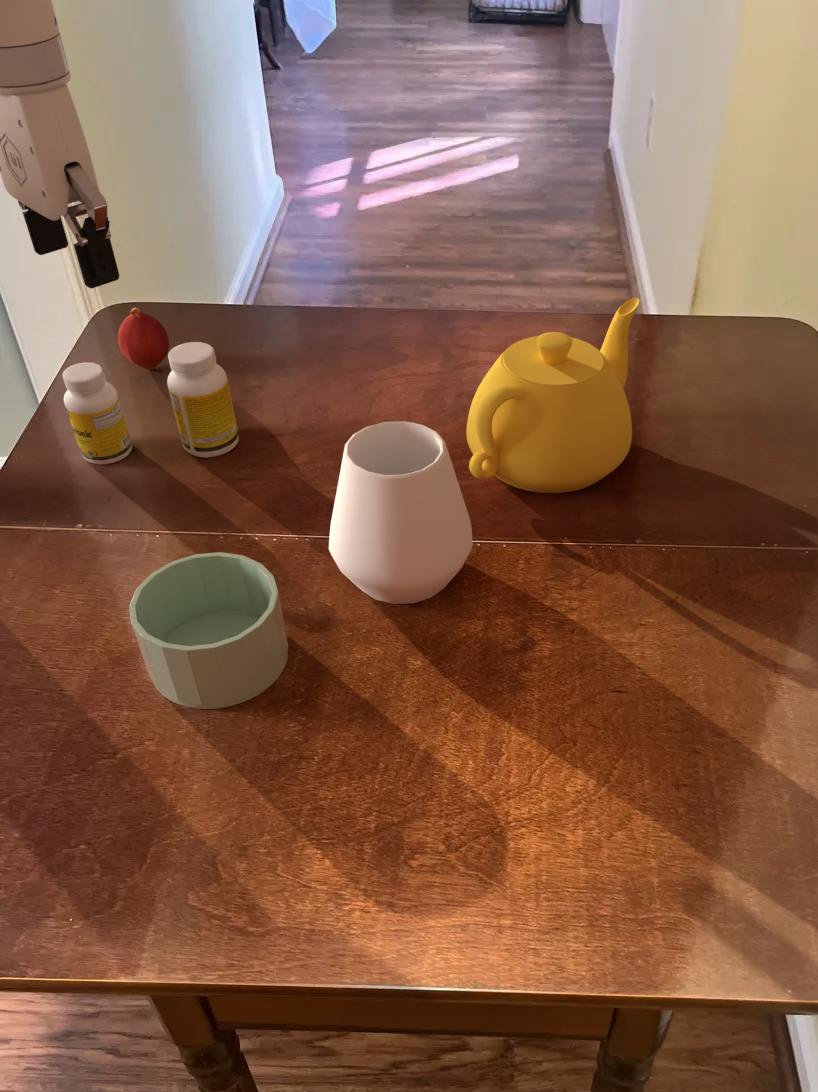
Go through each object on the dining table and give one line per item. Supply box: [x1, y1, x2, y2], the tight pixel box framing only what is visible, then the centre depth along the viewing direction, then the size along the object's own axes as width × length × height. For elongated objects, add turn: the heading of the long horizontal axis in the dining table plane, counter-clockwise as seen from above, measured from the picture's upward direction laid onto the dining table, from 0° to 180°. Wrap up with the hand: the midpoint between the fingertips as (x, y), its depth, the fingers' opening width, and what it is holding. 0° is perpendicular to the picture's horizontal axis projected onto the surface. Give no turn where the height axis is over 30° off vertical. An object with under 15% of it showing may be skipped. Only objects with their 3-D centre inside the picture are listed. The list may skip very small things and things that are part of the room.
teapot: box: [465, 297, 640, 494], centre depth 103 cm, size 25×18×14 cm
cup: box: [328, 420, 474, 605], centre depth 89 cm, size 13×13×14 cm
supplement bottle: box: [62, 361, 133, 465], centre depth 104 cm, size 5×5×10 cm
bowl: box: [128, 551, 289, 710], centre depth 83 cm, size 12×12×7 cm
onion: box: [117, 307, 170, 371], centre depth 118 cm, size 6×6×8 cm
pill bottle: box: [166, 341, 240, 459], centre depth 105 cm, size 6×6×11 cm
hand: (77, 266), depth 92 cm, fingers open, 9 cm apart
